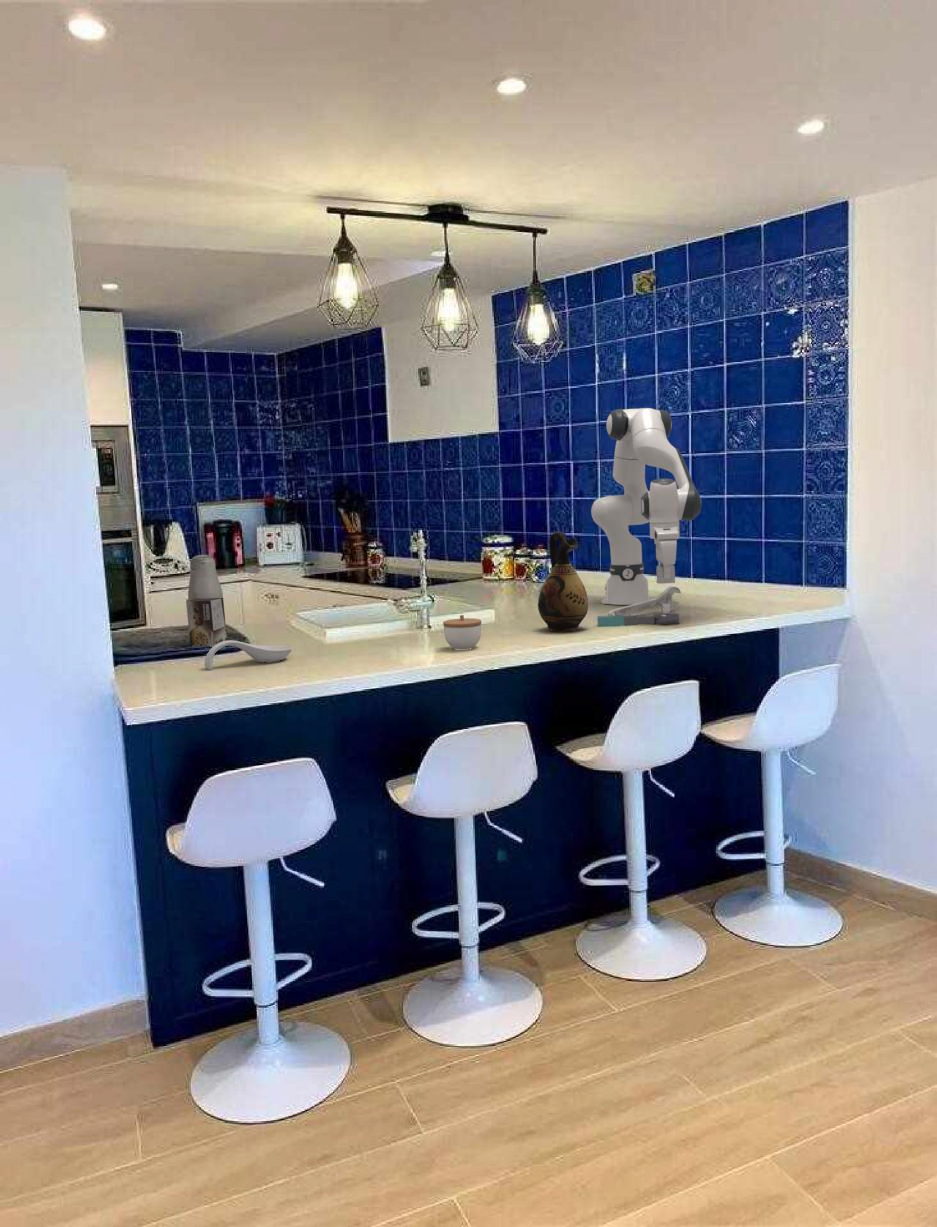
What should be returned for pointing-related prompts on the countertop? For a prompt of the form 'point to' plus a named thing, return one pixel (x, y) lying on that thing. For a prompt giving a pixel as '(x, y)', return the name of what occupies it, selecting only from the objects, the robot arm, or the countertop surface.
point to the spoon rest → (251, 652)
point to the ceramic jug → (562, 589)
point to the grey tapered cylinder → (203, 578)
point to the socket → (661, 575)
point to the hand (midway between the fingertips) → (665, 577)
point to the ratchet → (641, 618)
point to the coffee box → (206, 621)
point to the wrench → (649, 603)
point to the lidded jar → (462, 632)
